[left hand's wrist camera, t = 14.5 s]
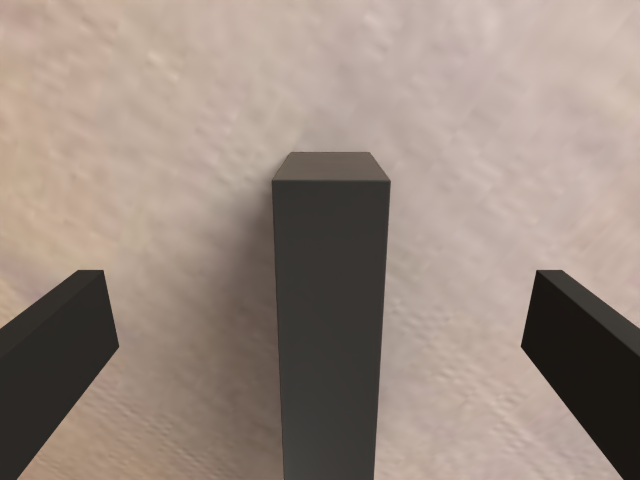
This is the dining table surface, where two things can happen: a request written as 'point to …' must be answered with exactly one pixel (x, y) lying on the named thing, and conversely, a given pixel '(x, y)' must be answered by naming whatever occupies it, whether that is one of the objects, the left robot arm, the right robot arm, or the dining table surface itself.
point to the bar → (330, 310)
